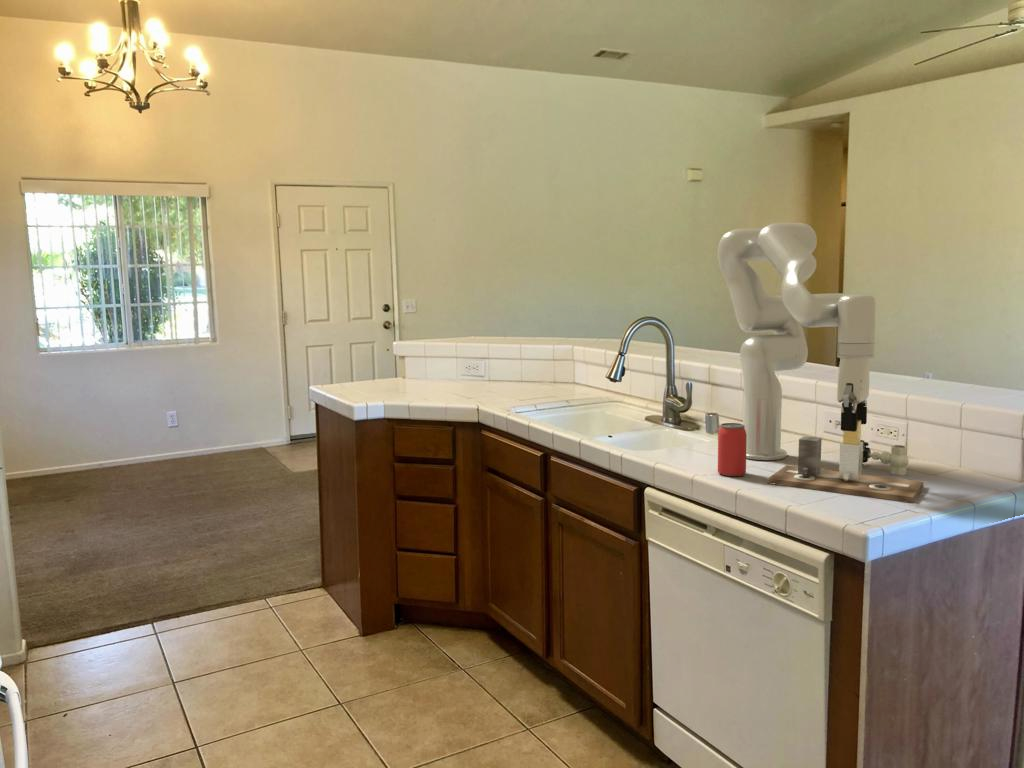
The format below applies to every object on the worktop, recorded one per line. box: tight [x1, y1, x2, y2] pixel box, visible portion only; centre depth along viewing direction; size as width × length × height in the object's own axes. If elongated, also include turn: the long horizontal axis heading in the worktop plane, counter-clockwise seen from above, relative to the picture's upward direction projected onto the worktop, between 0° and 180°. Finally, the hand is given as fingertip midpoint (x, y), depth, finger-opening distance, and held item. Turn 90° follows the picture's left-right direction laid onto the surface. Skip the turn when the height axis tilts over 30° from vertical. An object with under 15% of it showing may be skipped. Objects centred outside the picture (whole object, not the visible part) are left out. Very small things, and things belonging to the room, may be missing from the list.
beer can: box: [717, 422, 747, 477], centre depth 190 cm, size 7×7×12 cm
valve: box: [860, 439, 910, 476], centre depth 190 cm, size 7×7×12 cm
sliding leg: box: [838, 420, 863, 481], centre depth 177 cm, size 4×6×13 cm, turn 145°
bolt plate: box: [767, 435, 925, 504], centre depth 178 cm, size 30×14×10 cm, turn 55°
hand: (853, 427), depth 176 cm, fingers open, 9 cm apart
